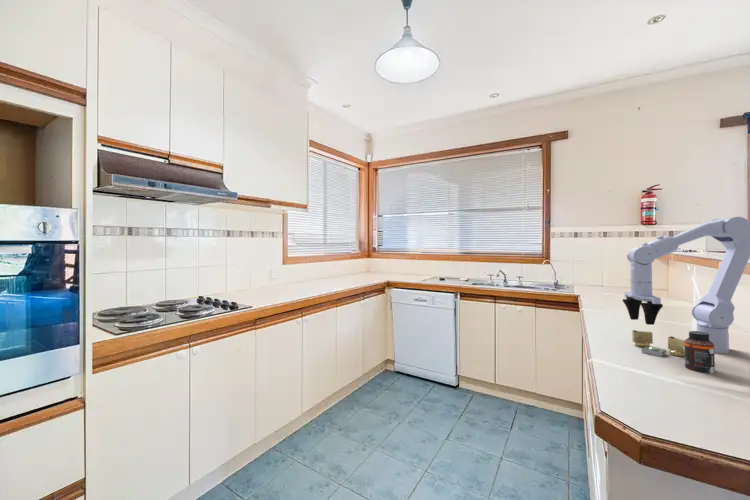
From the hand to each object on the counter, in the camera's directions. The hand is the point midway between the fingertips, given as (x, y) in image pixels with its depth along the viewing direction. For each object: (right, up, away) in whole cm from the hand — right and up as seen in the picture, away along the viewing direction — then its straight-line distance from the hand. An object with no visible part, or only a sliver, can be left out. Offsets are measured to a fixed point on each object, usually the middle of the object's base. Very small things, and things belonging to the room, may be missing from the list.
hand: (641, 321), depth 114 cm
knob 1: (0, -8, 0) cm, 8 cm away
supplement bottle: (-2, -10, -22) cm, 24 cm away
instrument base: (0, -9, -6) cm, 11 cm away
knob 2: (+3, -8, -10) cm, 13 cm away
